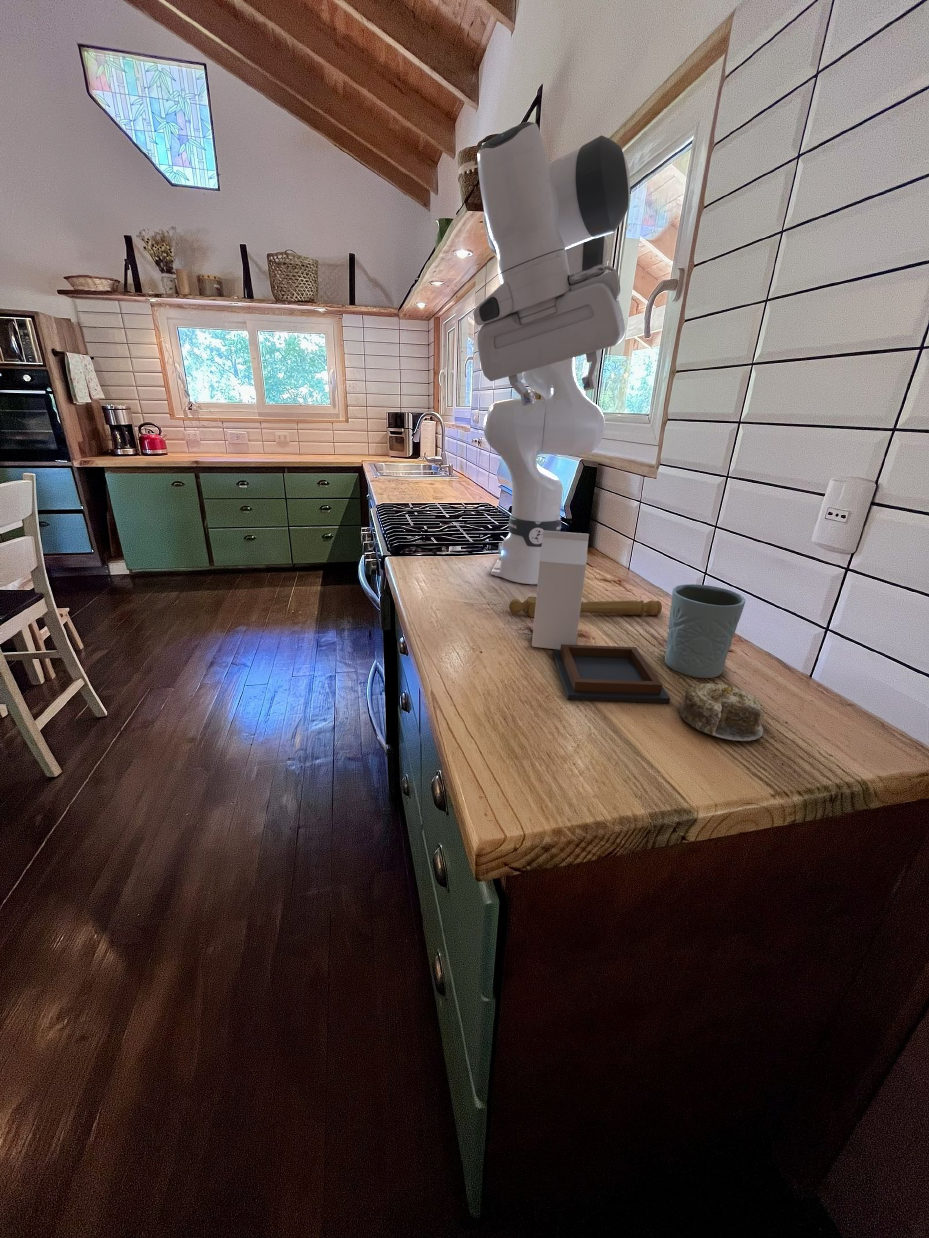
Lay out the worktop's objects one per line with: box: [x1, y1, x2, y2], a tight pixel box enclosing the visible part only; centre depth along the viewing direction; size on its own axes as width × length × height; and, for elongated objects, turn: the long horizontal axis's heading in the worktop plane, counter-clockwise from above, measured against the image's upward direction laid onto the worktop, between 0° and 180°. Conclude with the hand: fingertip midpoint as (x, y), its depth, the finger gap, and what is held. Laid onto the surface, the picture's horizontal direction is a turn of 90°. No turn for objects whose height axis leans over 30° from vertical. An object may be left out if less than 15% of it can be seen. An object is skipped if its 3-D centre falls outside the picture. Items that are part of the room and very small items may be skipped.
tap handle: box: [508, 596, 663, 618], centre depth 97 cm, size 3×3×30 cm
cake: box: [678, 683, 764, 742], centre depth 64 cm, size 10×10×5 cm
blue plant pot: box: [664, 583, 746, 679], centre depth 77 cm, size 10×10×12 cm
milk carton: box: [531, 531, 590, 650], centre depth 82 cm, size 7×7×19 cm
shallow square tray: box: [552, 644, 671, 704], centre depth 74 cm, size 14×14×2 cm
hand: (559, 396), depth 72 cm, fingers open, 8 cm apart
